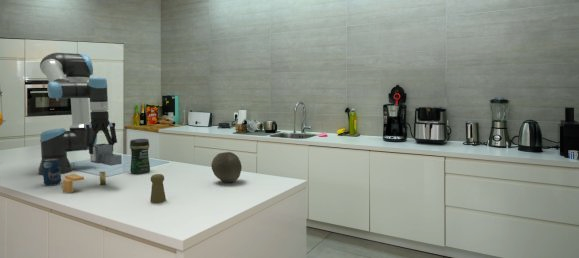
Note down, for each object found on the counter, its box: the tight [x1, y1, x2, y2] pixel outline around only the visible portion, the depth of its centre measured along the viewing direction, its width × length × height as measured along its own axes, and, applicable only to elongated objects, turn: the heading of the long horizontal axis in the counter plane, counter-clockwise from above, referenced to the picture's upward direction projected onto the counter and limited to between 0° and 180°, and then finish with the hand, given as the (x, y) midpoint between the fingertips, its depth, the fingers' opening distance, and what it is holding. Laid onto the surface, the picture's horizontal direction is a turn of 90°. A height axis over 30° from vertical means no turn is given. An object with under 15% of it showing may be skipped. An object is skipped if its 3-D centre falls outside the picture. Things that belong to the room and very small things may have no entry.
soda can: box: [42, 158, 62, 187], centre depth 172 cm, size 7×7×12 cm
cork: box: [150, 173, 167, 204], centre depth 147 cm, size 6×6×11 cm
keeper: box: [61, 173, 85, 194], centre depth 162 cm, size 9×6×6 cm, turn 55°
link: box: [89, 142, 123, 167], centre depth 168 cm, size 16×7×8 cm, turn 55°
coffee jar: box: [129, 138, 151, 175], centre depth 197 cm, size 10×8×19 cm
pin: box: [99, 171, 107, 186], centre depth 173 cm, size 2×2×6 cm
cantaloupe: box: [210, 151, 243, 183], centre depth 177 cm, size 14×14×15 cm
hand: (101, 159), depth 171 cm, fingers closed on link, 7 cm apart
